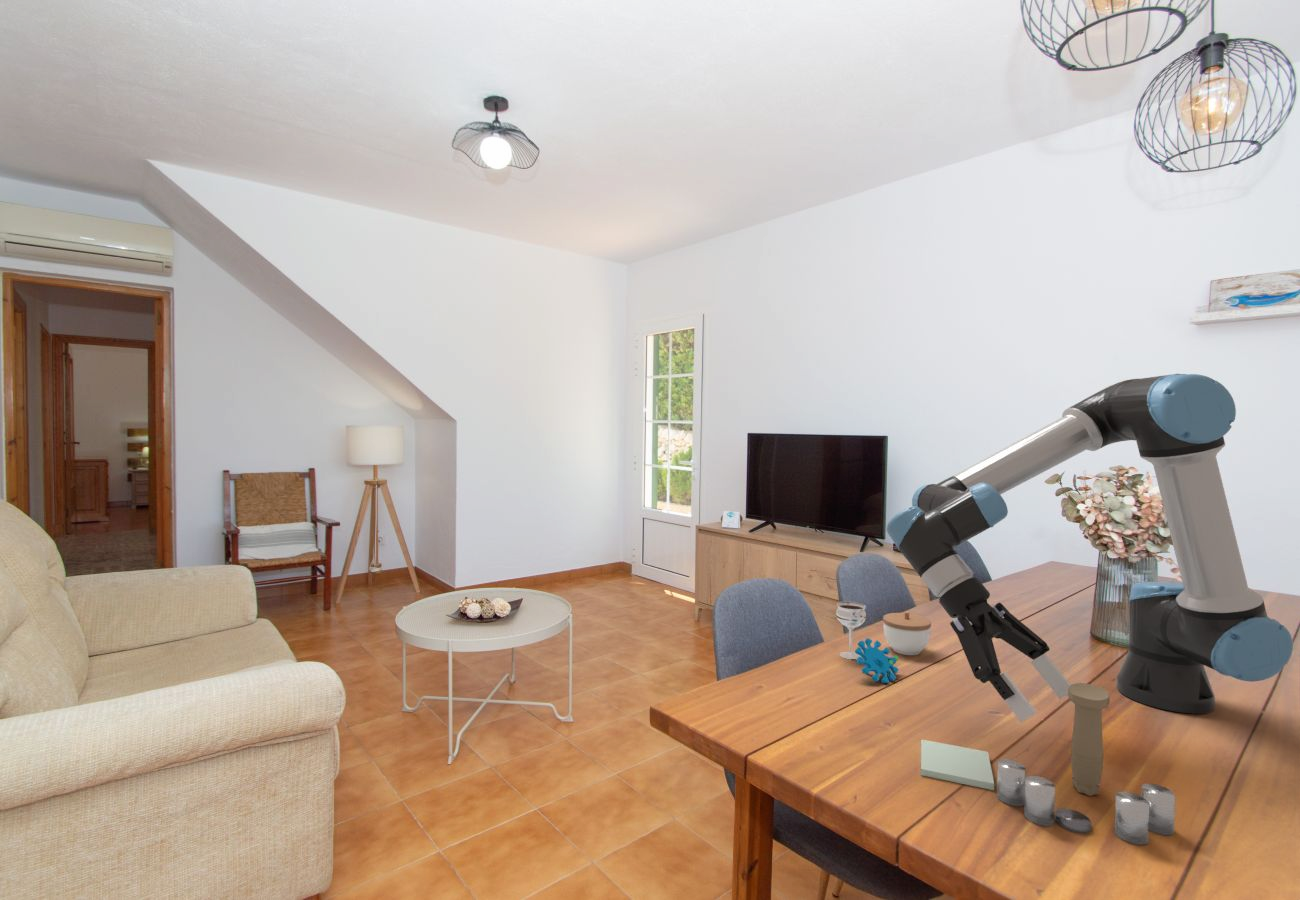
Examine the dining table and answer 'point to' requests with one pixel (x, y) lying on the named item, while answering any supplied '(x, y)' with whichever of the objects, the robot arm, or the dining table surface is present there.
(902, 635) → the lidded jar
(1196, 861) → the dining table surface
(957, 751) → the pad
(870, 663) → the gear
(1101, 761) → the handle
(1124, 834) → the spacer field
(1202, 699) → the robot arm
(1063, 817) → the disc
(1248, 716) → the dining table surface
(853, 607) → the wineglass
